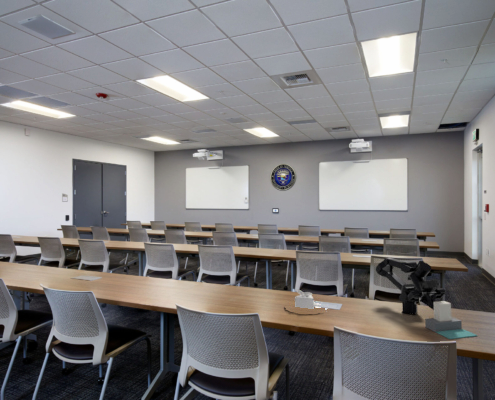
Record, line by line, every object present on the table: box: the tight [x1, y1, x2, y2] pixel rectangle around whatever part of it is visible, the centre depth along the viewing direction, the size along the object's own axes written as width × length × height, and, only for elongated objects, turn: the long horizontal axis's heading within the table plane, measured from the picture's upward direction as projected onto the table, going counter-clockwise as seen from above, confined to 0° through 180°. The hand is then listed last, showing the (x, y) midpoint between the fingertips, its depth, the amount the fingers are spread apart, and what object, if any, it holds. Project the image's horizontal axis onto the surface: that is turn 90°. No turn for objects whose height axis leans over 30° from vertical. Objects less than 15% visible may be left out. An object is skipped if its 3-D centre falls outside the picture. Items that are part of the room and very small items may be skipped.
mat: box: [435, 328, 478, 340], centre depth 152 cm, size 8×14×1 cm, turn 101°
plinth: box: [424, 316, 463, 333], centre depth 160 cm, size 6×14×4 cm, turn 101°
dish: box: [294, 289, 329, 310], centre depth 197 cm, size 25×25×11 cm
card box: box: [433, 300, 452, 322], centre depth 160 cm, size 4×6×8 cm, turn 101°
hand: (435, 310), depth 165 cm, fingers closed
